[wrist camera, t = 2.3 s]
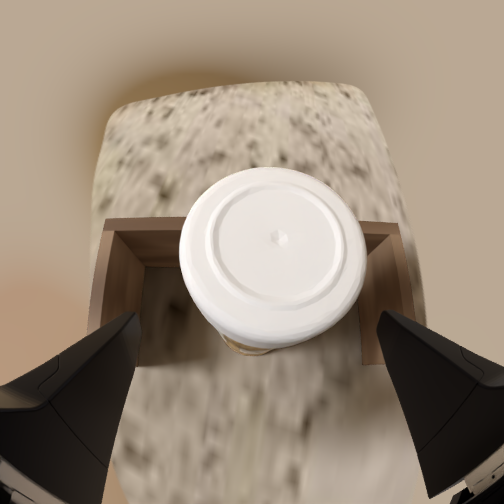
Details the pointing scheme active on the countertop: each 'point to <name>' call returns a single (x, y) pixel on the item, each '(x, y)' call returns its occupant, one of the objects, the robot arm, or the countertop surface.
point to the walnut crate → (167, 255)
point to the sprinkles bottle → (272, 258)
